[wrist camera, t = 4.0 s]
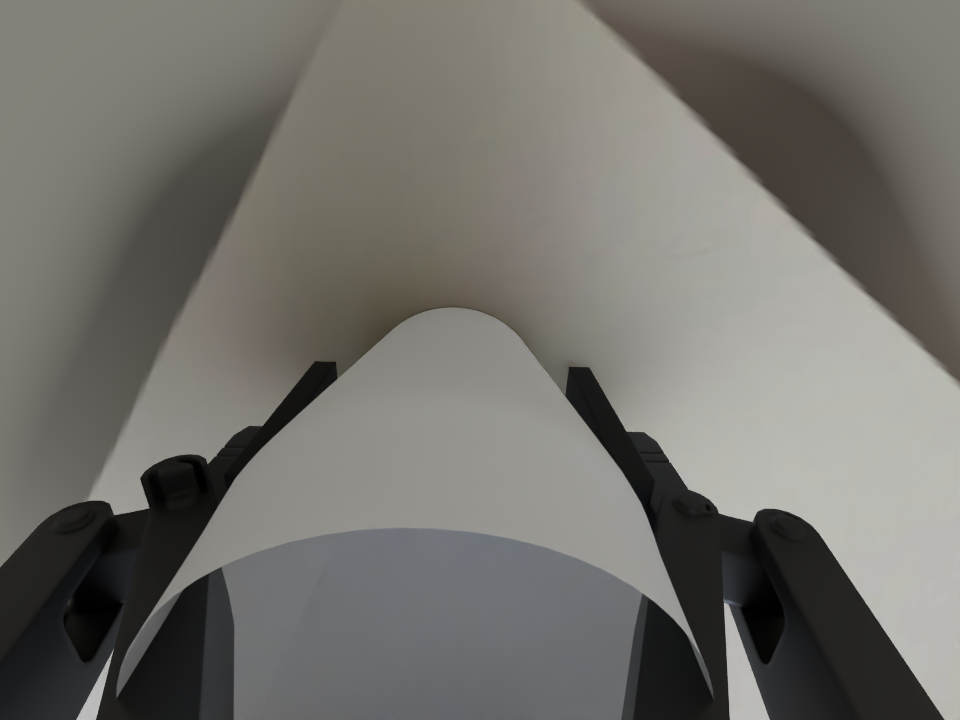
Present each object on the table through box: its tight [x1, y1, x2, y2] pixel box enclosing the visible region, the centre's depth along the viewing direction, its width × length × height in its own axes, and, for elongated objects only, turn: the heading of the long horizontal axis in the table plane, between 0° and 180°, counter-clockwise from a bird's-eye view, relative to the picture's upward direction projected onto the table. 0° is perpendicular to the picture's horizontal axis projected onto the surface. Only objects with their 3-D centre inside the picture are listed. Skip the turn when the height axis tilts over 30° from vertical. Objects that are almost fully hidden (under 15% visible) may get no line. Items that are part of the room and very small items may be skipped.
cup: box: [116, 307, 714, 720], centre depth 12 cm, size 9×9×12 cm
